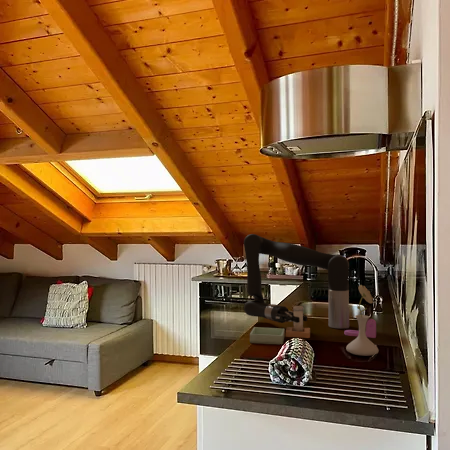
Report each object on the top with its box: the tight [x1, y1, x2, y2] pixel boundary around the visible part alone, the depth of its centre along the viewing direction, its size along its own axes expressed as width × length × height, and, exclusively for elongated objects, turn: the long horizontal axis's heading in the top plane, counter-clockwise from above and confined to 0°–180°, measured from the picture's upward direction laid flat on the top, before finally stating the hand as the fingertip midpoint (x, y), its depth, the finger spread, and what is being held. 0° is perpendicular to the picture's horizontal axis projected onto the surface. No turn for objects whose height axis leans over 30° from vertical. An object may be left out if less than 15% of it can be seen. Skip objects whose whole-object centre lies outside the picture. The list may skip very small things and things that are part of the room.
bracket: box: [344, 318, 377, 339], centre depth 196 cm, size 13×6×7 cm, turn 69°
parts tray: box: [249, 326, 286, 345], centre depth 186 cm, size 13×13×4 cm
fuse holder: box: [285, 326, 311, 339], centre depth 196 cm, size 10×10×2 cm
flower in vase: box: [345, 284, 379, 357], centre depth 167 cm, size 13×11×25 cm
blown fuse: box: [292, 305, 304, 332], centre depth 196 cm, size 4×4×12 cm
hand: (302, 319), depth 194 cm, fingers closed on blown fuse, 4 cm apart
